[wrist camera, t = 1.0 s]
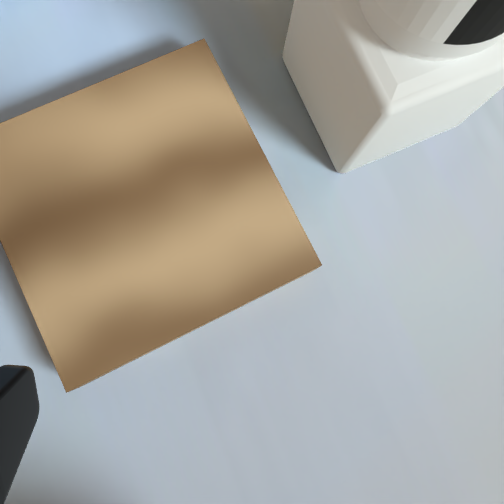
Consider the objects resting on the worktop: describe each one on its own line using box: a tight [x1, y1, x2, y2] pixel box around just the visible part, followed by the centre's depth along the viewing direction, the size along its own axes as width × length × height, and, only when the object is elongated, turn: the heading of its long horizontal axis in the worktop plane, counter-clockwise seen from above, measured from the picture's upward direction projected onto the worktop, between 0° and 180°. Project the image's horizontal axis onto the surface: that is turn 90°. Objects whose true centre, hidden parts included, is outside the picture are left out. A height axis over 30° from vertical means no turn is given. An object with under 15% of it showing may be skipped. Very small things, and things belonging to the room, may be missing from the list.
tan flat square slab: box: [0, 39, 322, 393], centre depth 22 cm, size 12×12×2 cm
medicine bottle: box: [282, 0, 504, 174], centre depth 18 cm, size 7×7×12 cm
